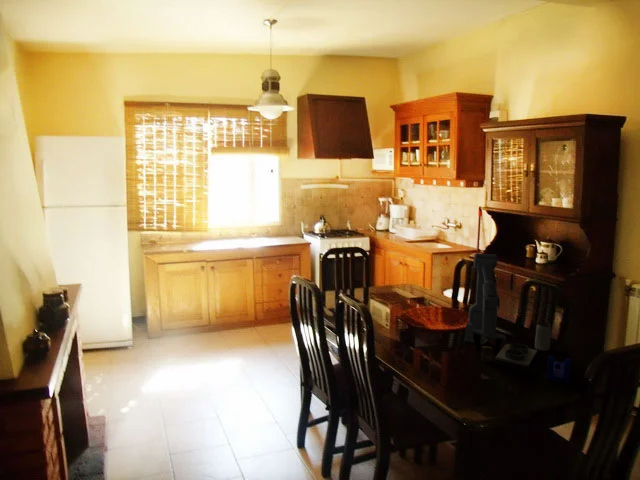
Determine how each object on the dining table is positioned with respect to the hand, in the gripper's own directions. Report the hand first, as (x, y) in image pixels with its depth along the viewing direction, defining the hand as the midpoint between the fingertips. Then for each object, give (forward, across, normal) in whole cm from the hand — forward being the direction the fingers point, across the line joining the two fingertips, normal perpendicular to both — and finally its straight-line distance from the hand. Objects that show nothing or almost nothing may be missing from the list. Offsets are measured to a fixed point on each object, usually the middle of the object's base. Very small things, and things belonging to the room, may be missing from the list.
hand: (486, 352), depth 234 cm
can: (+4, +18, +30) cm, 35 cm away
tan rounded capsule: (+4, 0, 0) cm, 4 cm away
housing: (+4, +10, +14) cm, 18 cm away
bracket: (+4, +28, +4) cm, 29 cm away
